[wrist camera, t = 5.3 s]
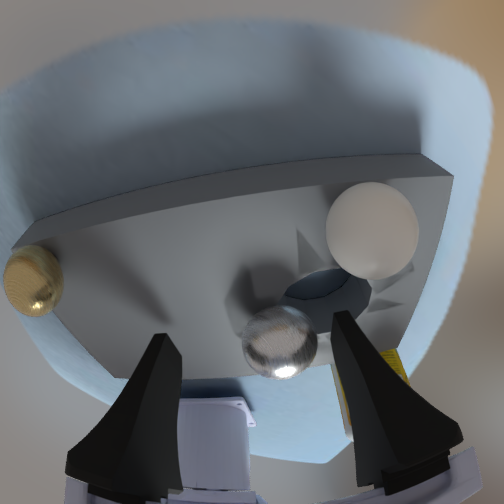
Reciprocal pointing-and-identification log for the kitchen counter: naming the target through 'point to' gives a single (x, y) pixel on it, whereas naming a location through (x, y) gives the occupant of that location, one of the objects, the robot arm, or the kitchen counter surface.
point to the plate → (230, 260)
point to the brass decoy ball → (33, 281)
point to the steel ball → (279, 342)
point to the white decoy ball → (372, 230)
